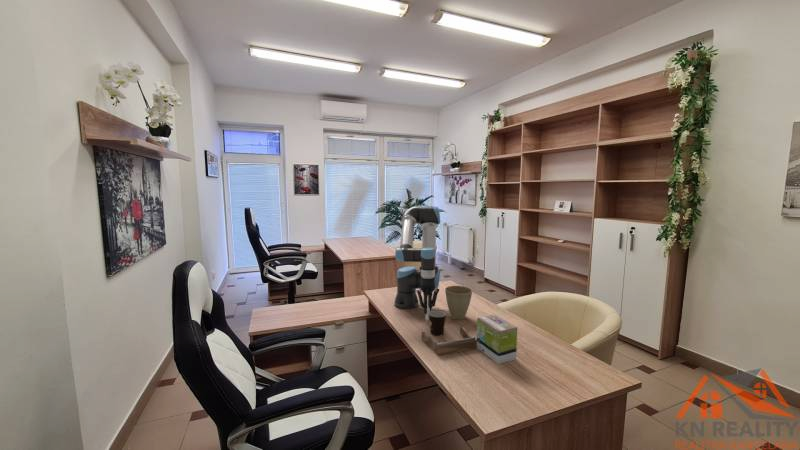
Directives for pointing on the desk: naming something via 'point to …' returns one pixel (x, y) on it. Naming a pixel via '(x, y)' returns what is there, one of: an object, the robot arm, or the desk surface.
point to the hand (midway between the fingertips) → (427, 319)
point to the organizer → (451, 343)
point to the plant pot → (458, 300)
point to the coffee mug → (437, 322)
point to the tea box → (497, 338)
